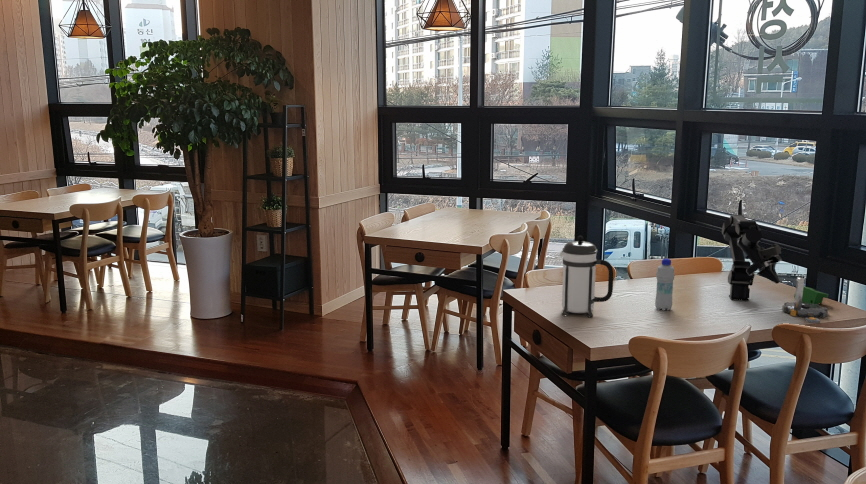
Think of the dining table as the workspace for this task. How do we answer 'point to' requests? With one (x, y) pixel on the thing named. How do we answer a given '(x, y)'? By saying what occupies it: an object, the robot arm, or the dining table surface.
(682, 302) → the dining table surface
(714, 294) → the dining table surface
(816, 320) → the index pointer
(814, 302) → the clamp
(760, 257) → the robot arm
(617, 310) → the dining table surface
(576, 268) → the coffee press
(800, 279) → the sprocket
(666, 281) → the bottle
